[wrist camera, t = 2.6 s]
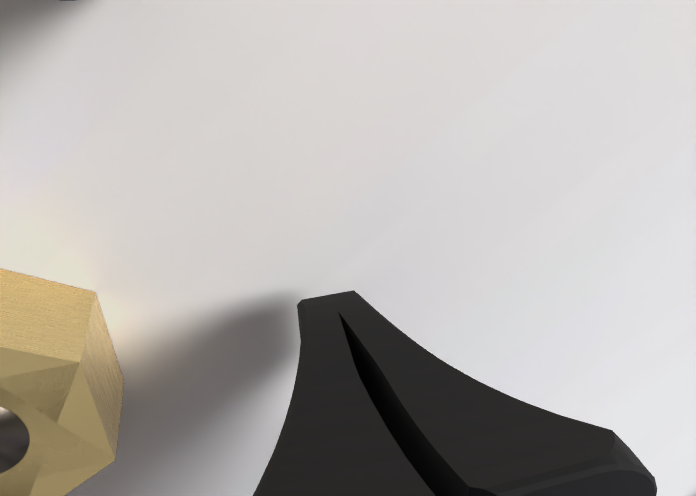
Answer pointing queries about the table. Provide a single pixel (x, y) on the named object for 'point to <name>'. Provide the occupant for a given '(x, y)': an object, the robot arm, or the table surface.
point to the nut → (54, 387)
